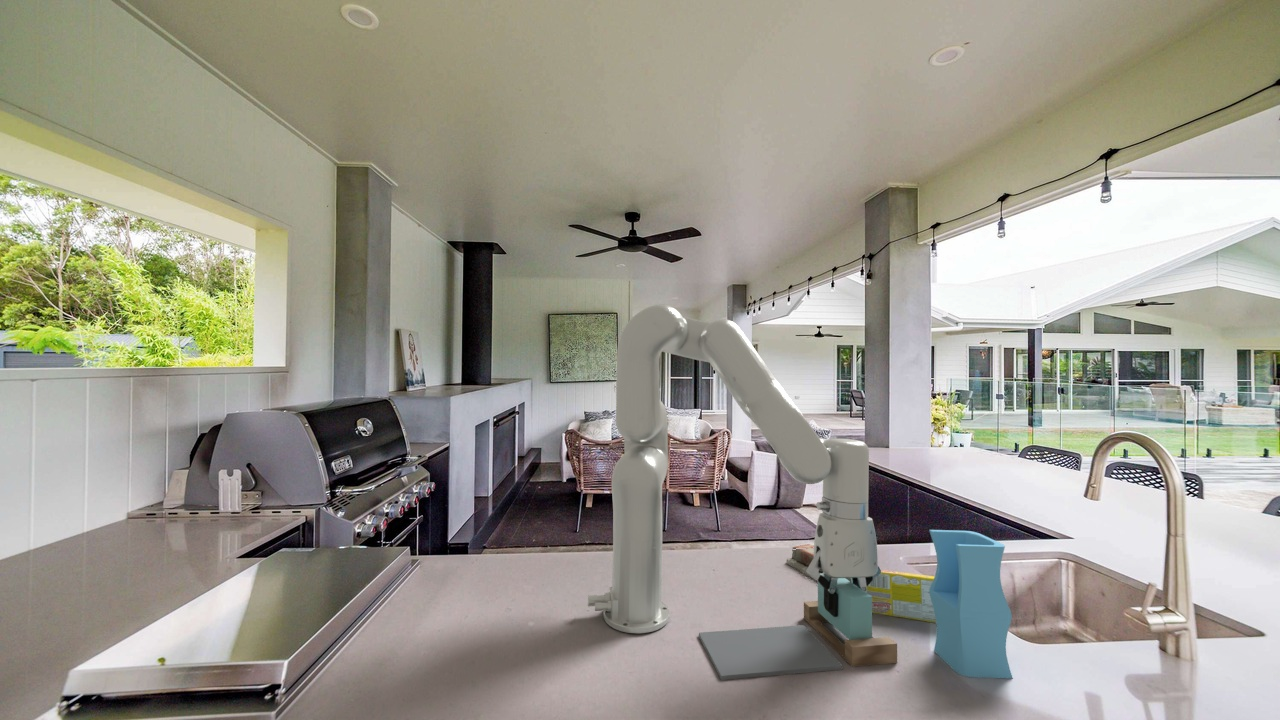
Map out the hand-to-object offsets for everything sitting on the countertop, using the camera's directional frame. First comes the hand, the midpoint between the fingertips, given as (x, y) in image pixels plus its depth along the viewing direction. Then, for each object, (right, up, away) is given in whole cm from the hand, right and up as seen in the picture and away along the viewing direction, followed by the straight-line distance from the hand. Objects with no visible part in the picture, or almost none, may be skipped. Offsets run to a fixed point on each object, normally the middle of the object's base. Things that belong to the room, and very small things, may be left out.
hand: (843, 611), depth 81 cm
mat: (-15, -4, -5) cm, 16 cm away
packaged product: (+8, -7, +27) cm, 29 cm away
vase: (+18, -5, -7) cm, 20 cm away
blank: (0, -2, 0) cm, 2 cm away
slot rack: (0, -5, 0) cm, 5 cm away
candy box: (+15, -6, +8) cm, 18 cm away
